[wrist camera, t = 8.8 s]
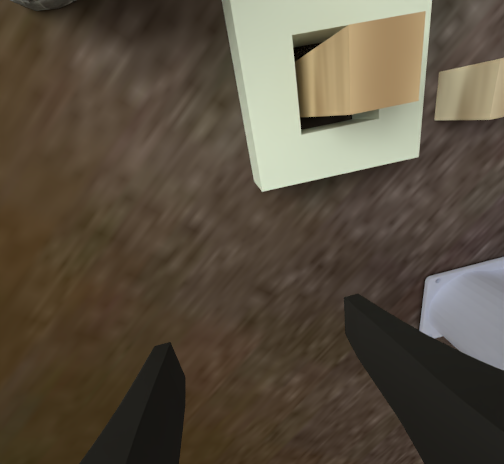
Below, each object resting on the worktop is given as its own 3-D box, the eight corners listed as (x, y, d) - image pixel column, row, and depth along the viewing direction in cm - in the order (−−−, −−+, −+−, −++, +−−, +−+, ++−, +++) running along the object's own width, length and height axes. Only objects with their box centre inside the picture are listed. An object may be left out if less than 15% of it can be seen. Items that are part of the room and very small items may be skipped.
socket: (394, -29, 15) (437, -63, 12) (387, 152, 19) (418, 156, 16) (221, 0, 14) (225, -30, 11) (254, 181, 18) (262, 191, 15)
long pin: (338, 55, 16) (425, 11, 10) (340, 108, 17) (418, 100, 11) (291, 64, 16) (348, 24, 9) (296, 117, 17) (350, 114, 11)
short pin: (479, 63, 17) (551, 48, 14) (472, 112, 19) (536, 109, 15) (438, 72, 17) (500, 58, 14) (433, 120, 18) (489, 119, 15)
